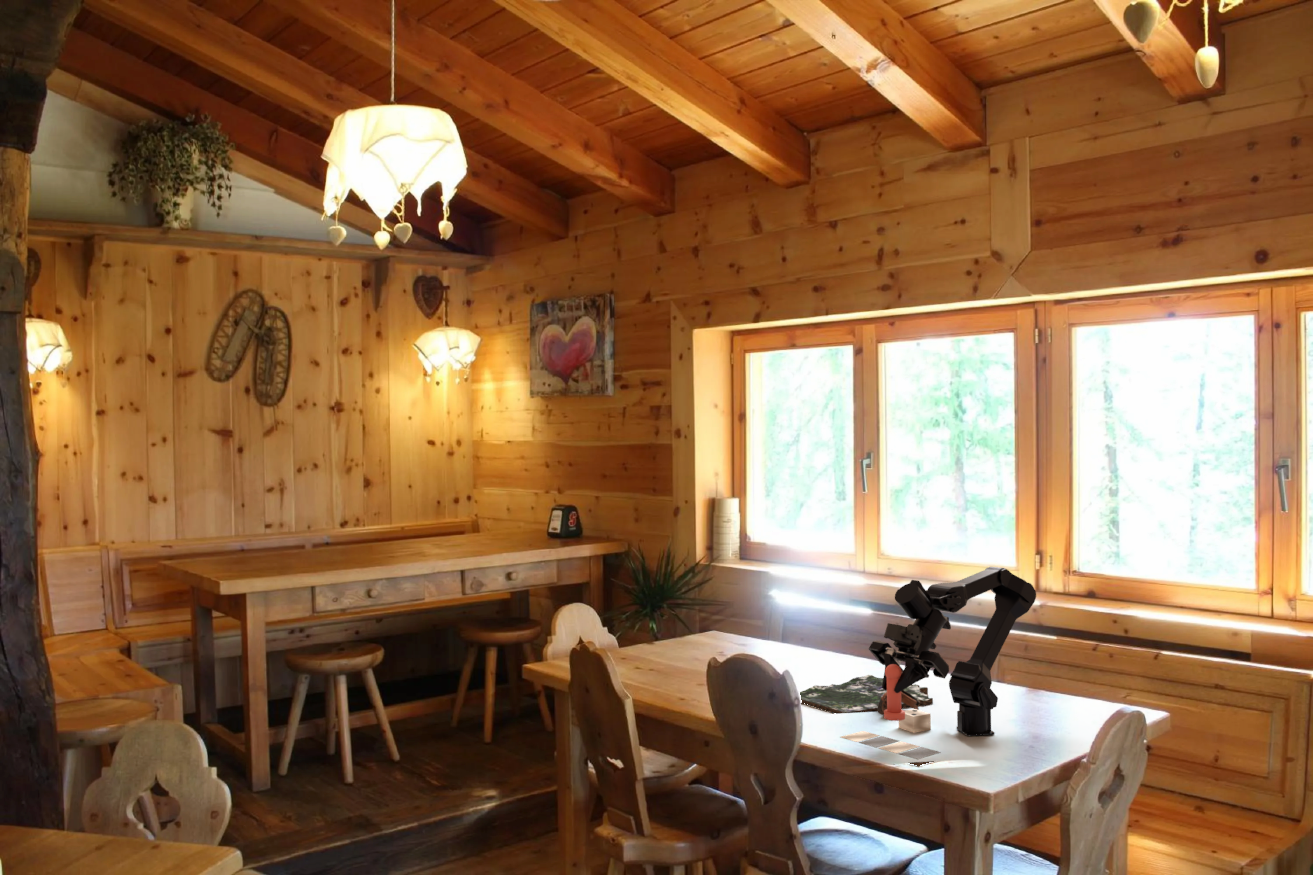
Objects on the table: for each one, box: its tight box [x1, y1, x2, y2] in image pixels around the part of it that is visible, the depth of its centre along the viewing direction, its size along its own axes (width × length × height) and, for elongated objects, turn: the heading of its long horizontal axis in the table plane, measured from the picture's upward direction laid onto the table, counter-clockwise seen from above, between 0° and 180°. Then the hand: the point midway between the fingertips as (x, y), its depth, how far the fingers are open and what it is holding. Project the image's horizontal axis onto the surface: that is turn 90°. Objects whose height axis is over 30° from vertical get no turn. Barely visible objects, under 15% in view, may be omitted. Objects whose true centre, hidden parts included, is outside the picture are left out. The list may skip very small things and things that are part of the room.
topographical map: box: [799, 674, 934, 715], centre depth 269 cm, size 26×33×3 cm
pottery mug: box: [876, 690, 920, 715], centre depth 250 cm, size 12×10×8 cm
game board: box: [840, 730, 942, 767], centre depth 224 cm, size 23×9×1 cm, turn 37°
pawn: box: [883, 664, 906, 722], centre depth 222 cm, size 4×4×12 cm
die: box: [898, 708, 932, 734], centre depth 236 cm, size 5×5×5 cm
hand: (889, 690), depth 222 cm, fingers closed on pawn, 3 cm apart
